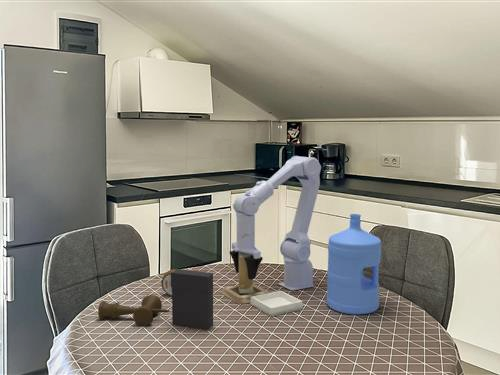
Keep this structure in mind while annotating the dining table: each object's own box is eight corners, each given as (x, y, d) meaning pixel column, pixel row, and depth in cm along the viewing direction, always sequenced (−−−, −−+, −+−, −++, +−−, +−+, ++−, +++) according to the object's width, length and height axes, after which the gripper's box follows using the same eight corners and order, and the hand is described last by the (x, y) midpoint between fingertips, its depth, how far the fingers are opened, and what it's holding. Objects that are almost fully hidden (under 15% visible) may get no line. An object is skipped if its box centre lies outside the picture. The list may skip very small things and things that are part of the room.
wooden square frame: (250, 288, 167) (250, 282, 167) (269, 298, 158) (269, 292, 158) (221, 294, 162) (221, 288, 161) (239, 304, 152) (239, 298, 152)
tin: (209, 295, 160) (208, 269, 159) (207, 298, 157) (207, 272, 156) (163, 293, 162) (162, 268, 161) (160, 296, 159) (160, 271, 158)
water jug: (323, 312, 146) (325, 218, 143) (329, 295, 161) (331, 209, 158) (378, 318, 142) (382, 221, 139) (379, 299, 157) (383, 212, 154)
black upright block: (214, 325, 136) (214, 272, 134) (208, 331, 132) (207, 276, 130) (178, 320, 140) (177, 268, 138) (171, 325, 136) (170, 272, 134)
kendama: (107, 313, 146) (174, 314, 144) (94, 327, 137) (166, 328, 135) (105, 293, 145) (173, 294, 144) (92, 306, 136) (164, 307, 134)
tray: (280, 298, 158) (280, 290, 158) (302, 309, 149) (302, 301, 148) (250, 304, 152) (250, 296, 152) (271, 316, 143) (271, 308, 142)
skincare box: (238, 287, 163) (238, 250, 161) (251, 287, 163) (251, 250, 161) (239, 294, 156) (239, 256, 155) (253, 293, 157) (253, 255, 155)
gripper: (223, 230, 161) (223, 271, 163) (246, 239, 149) (246, 283, 151) (242, 228, 165) (242, 268, 167) (266, 236, 153) (266, 280, 154)
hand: (245, 275), depth 159 cm, fingers closed on skincare box, 7 cm apart
